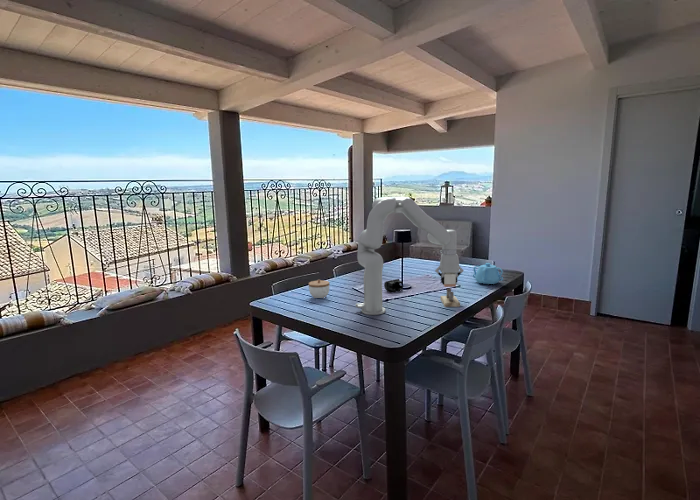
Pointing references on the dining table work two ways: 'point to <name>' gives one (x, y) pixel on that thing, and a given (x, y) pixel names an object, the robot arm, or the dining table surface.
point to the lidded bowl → (319, 288)
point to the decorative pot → (487, 274)
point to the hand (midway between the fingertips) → (449, 283)
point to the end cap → (393, 285)
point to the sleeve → (449, 280)
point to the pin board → (450, 304)
